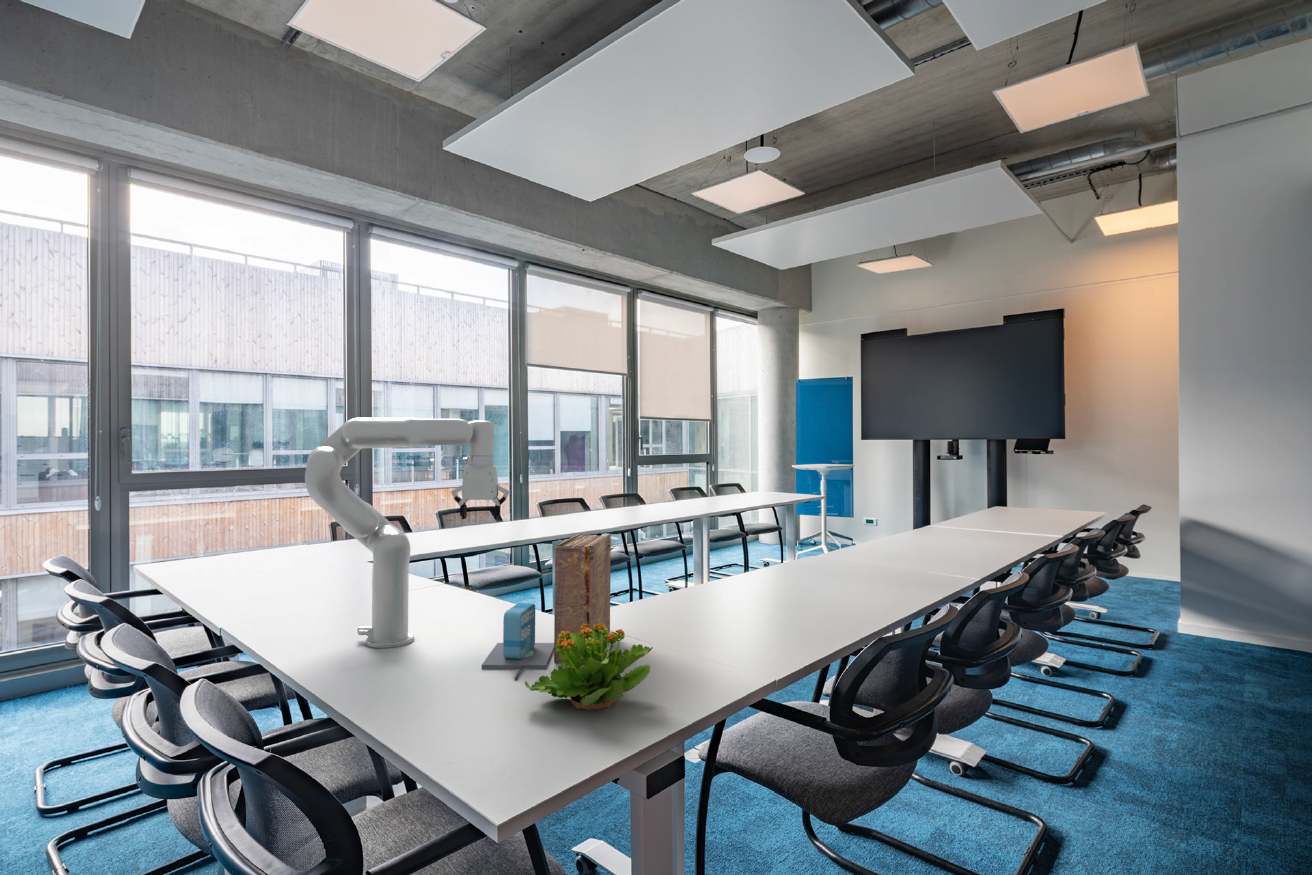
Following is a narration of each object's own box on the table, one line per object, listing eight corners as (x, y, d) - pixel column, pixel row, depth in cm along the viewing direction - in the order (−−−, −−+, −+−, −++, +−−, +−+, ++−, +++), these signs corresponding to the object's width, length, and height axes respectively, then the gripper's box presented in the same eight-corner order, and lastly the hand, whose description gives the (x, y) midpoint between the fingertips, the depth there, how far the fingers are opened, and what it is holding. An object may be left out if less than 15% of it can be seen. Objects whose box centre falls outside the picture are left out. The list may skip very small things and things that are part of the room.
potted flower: (577, 674, 160) (578, 602, 161) (667, 689, 151) (668, 613, 151) (518, 713, 137) (518, 629, 137) (620, 733, 128) (621, 643, 128)
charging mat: (473, 680, 156) (473, 675, 156) (497, 646, 182) (497, 642, 182) (541, 680, 156) (541, 676, 156) (555, 646, 182) (555, 642, 182)
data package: (519, 660, 167) (520, 613, 167) (502, 659, 167) (503, 612, 167) (535, 646, 179) (535, 602, 179) (519, 645, 179) (519, 601, 179)
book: (579, 634, 193) (580, 532, 194) (610, 636, 192) (611, 533, 192) (553, 663, 168) (554, 546, 168) (588, 665, 167) (589, 547, 167)
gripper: (448, 461, 194) (447, 520, 194) (507, 462, 194) (506, 520, 194) (455, 461, 201) (454, 517, 201) (512, 461, 202) (511, 517, 202)
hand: (480, 518), depth 198 cm, fingers open, 9 cm apart
